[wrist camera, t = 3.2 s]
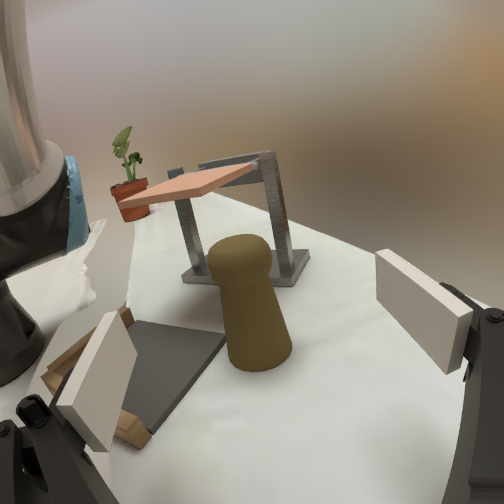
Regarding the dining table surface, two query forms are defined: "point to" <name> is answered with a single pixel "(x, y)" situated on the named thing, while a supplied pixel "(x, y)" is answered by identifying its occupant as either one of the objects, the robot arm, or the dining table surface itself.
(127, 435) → the wooden picture frame
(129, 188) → the potted plant
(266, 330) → the cork
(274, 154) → the flap stand
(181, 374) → the mat
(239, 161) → the drop flap
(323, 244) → the dining table surface
